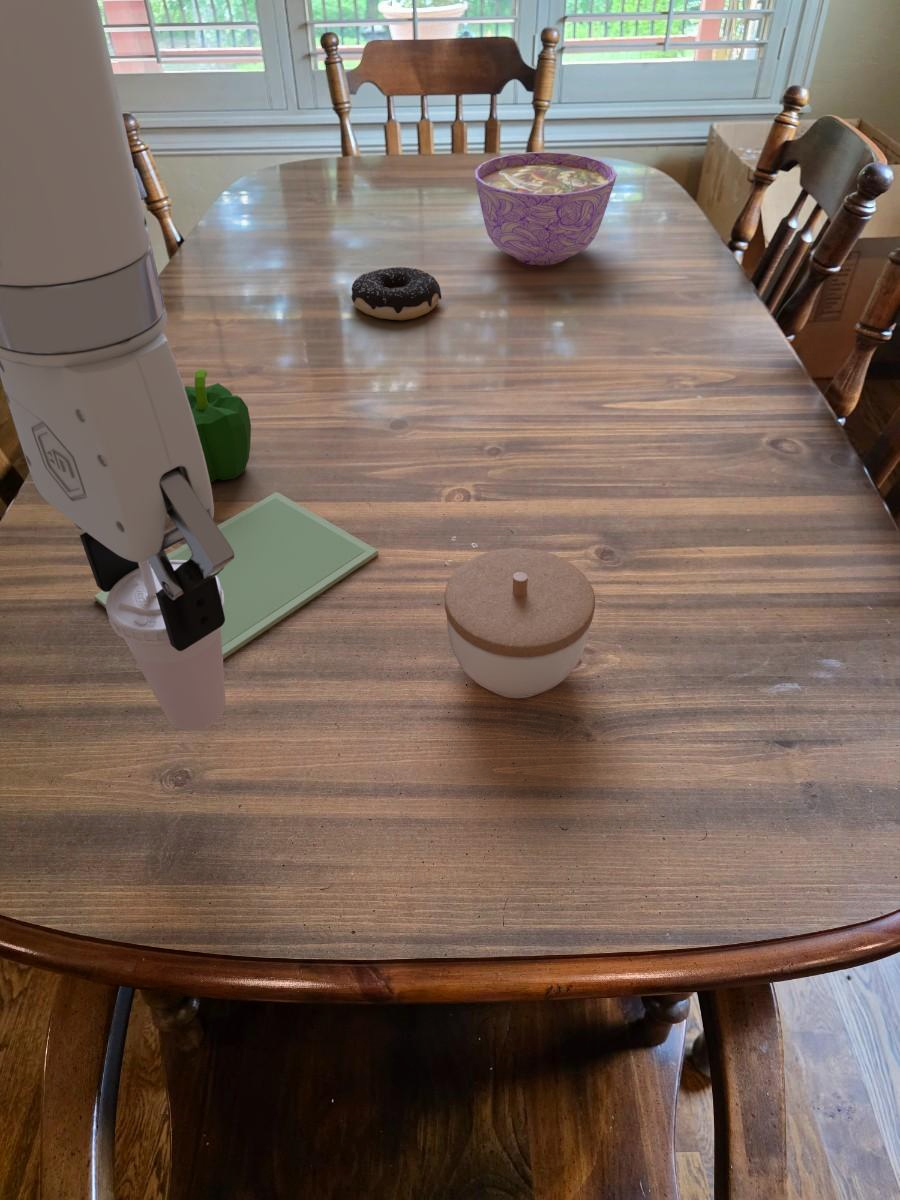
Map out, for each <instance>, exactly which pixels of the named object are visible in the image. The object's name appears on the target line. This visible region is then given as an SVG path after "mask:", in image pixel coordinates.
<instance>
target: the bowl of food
mask: <svg viewBox="0 0 900 1200" xmlns="http://www.w3.org/2000/svg"><path fill="white" fill-rule="evenodd" d="M617 175H618V174H617V173H616V170H615V168H614V167H613V166H611V165H610V164H608V163H607V162H605V161H603V160H600V159H597V158H594V157H591V156H586V155H580V154H575V153H570V152H569V153H568V152H556V151H555V152H554V151H534V152H533V151H532V152H530V151H529V152H522V153H521V152H520V153H511V154H506V155H502V156H499V157H494V158H491V159H489V160H487V161H485V162H483V163H480V164H479V166H477V167H476V169H475V170H474V180H475V184H476V190H477V195H478V198H479V204H480V208H481V213H482V214H481V215H482V218H483V222H484V226H485V229H486V234H487V235H488V237H489V238H490V240H491V242H492V243H493V245H494V246H496V247H497V248H498V249H499V250H500V251H501V252H503V253H505V254H507V255H508V256H511V257H513V258H514V259H516V261H518V262H521V263H523V264H528V265H531V266H532V265H533V266H534V265H535V266H550V265H556V264H559V263H562V262H564V261H565V260H567V259H568V258H572V257H573V256H576V255H577V254H579V253H581V252H582V251H584V250H585V249H587V248H588V247H589V246H590V245H591V243H592V242H593V241H594V239H596V236H597V234H598V233H599V229H600V227H601V225H602V222H603V220H604V217H605V213H606V210H607V208H608V204H609V201H610V197H611V194H612V192H613V188H614V186H615V182H616V179H617Z"/></svg>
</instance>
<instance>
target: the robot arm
mask: <svg viewBox="0 0 900 1200" xmlns="http://www.w3.org/2000/svg"><path fill="white" fill-rule="evenodd" d="M109 51H110V50H109V45H108V42H107V37H106V32H105V28H104V23H103V18H102V14H101V10H100V6H99V1H98V0H0V380H1V384H2V388H3V391H4V394H5V398H6V401H7V404H8V408H9V411H10V415H11V417H12V420H13V424H14V428H15V431H16V433H17V437H18V439H19V443H20V446H21V449H22V452H23V456H24V458H25V461H26V464H27V467H28V471H29V473H30V476H31V479H32V482H33V485H34V486H35V489H36V490H37V491H38V493H39V494H40V496H41V497H42V498H43V499H44V501H46V502H47V503H48V504H49V505H51V506H52V507H53V509H55V510H56V511H58V512H59V513H60V514H61V515H62V516H64V517H66V518H67V519H68V520H70V521H71V522H72V523H73V525H74V526H75V527H76V528H77V529H78V530H79V532H84V533H81V534H80V535H79V539H80V541H81V544H82V546H83V550H84V552H85V555H86V558H87V560H88V563H89V567H90V570H91V572H92V575H93V578H94V581H95V584H96V586H97V588H98V589H99V590H101V591H104V592H109V591H111V589H112V588H113V586H114V585H115V584H116V583H117V582H118V581H119V580H120V579H122V578H123V577H124V576H125V575H127V574H128V573H130V572H132V571H134V570H135V569H138V568H139V565H138V562H144V561H146V560H148V561H149V564H150V565H151V567H152V569H153V571H154V573H155V575H156V577H157V579H158V581H159V583H160V585H161V587H162V589H161V590H160V591H159V592H157V593H156V596H157V599H158V603H159V606H160V610H161V613H162V616H163V620H164V623H165V627H166V630H167V633H168V637H169V640H170V644H171V646H173V647H174V648H175V649H176V650H178V651H183V650H185V649H186V648H188V647H190V646H191V645H193V644H194V643H196V642H197V641H199V640H201V639H202V638H204V637H205V636H207V635H209V634H210V633H212V632H213V631H215V630H217V629H218V628H220V627H221V626H222V625H223V624H224V622H225V616H224V612H223V607H222V603H221V598H220V594H219V590H218V585H217V581H216V577H215V576H216V575H218V574H219V572H220V571H221V570H223V568H224V567H225V566H226V565H227V564H228V563H229V562H231V561H232V560H233V559H234V552H233V550H232V548H231V546H230V545H229V543H228V542H227V540H226V539H225V537H224V536H223V534H222V533H221V531H220V530H219V528H218V527H217V525H218V524H216V522H215V521H214V517H215V504H214V496H213V489H212V484H211V483H210V479H209V474H208V470H207V466H206V461H205V457H204V453H203V450H202V446H201V442H200V439H199V435H198V431H197V428H196V424H195V421H194V417H193V414H192V410H191V407H190V404H189V401H188V398H187V395H186V391H185V385H184V382H183V380H182V376H181V374H180V370H179V368H178V365H177V362H176V359H175V357H174V355H173V352H172V349H171V346H170V344H169V341H168V338H167V336H166V335H165V334H164V330H165V329H166V327H167V324H168V313H167V308H166V305H165V301H164V296H163V292H162V291H163V290H162V287H161V282H160V277H159V274H158V268H157V264H156V259H155V254H154V251H153V246H152V241H151V236H150V232H149V227H148V222H147V219H146V214H145V209H144V205H143V201H142V196H141V192H140V188H139V183H138V179H137V174H136V170H135V165H134V161H133V160H134V159H133V156H132V151H131V148H130V144H129V138H128V134H127V128H126V124H125V120H124V115H123V111H122V107H121V100H120V96H119V92H118V87H117V83H116V78H115V73H114V69H113V65H112V64H113V63H112V60H111V56H110V52H109ZM167 518H170V519H171V521H172V523H173V525H171V526H169V527H167V528H166V526H167V525H166V524H167ZM183 540H184V541H185V544H186V543H187V545H188V547H189V549H190V551H191V553H192V556H191V557H190V559H189V560H188V561H186V562H185V563H183V564H181V565H180V566H179V567H178V568H177V569H176V570H175V571H174V569H173V567H172V565H171V563H170V561H169V559H168V557H167V555H166V554H167V553H166V550H167V549H168V548H171V547H172V546H174V545H176V544H178V543H180V542H181V541H183Z"/></svg>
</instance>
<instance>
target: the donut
mask: <svg viewBox="0 0 900 1200" xmlns="http://www.w3.org/2000/svg"><path fill="white" fill-rule="evenodd" d="M350 297H351V301H352V303H353V305H354V306H355V307H356V309H358V310H360V311H361V312H363V313H364V314H366V315H369V316H372V317H375V318H378V319H384V320H391V321H407V320H412V319H417V318H419V317H421V316H424V315H426V314H428V313H430V311H432V310H433V309H435V308H436V306H437V305H438V303H439V300H442V293H441V287H440V284H439V282H438V281H437V279H436V278H435V277H434V276H433V275H431V274H430V273H428V272H425V271H424V270H421V269H418V268H415V267H409V266H408V267H405V266H404V267H402V266H395V267H387V268H379V269H377V270H373V271H368V272H366V273H363V274H360V275H359V276H358V277H357V278H356V279H354V281H353V282H352V285H351V296H350Z"/></svg>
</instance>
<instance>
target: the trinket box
mask: <svg viewBox="0 0 900 1200" xmlns="http://www.w3.org/2000/svg"><path fill="white" fill-rule="evenodd" d="M595 609H596V595H595V592H594V588H593V586H592V584H591V582H590V580H589V579H588V578H587V576H586V575H585V574H584V573H583V571H581V570H580V569H579V568H578V567H577V566H575V565H574V564H573V563H572V562H570V561H568V560H566V559H565V558H563V557H561V556H558V555H556V554H554V553H550V552H546V551H544V550H539V549H533V548H523V547H513V548H511V547H510V548H501V549H495V550H491V551H487V552H484V553H481V554H479V555H476V556H474V557H472V558H471V559H469V560H467V561H465V562H464V563H463V564H462V565H460V566H459V567H458V568H457V569H456V570H455V571H454V572H453V574H452V575H451V576H450V577H449V580H448V582H447V584H446V586H445V590H444V611H445V614H446V627H447V633H448V639H449V642H450V646H451V649H452V652H453V654H454V657H455V659H456V660H457V662H458V664H459V665H460V667H461V668H462V670H463V672H464V673H465V674H466V675H467V676H468V677H469V678H470V679H472V680H473V681H474V682H475V683H476V684H478V685H479V686H481V687H482V688H484V689H487V690H488V691H490V692H491V693H493V694H496V695H498V696H500V697H505V698H508V699H525V698H527V699H528V698H531V697H534V696H537V695H539V694H541V693H544V692H547V691H549V690H551V689H554V687H556V686H558V685H559V684H560V683H562V682H563V681H564V680H565V679H567V678H568V677H569V676H570V675H571V674H572V672H573V671H574V670H575V668H577V666H578V664H579V662H580V660H581V658H582V656H583V654H584V651H585V650H586V646H587V642H588V639H589V635H590V632H591V631H590V630H591V626H592V622H593V618H594V615H595Z"/></svg>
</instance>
